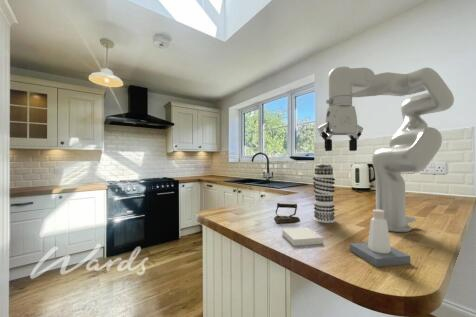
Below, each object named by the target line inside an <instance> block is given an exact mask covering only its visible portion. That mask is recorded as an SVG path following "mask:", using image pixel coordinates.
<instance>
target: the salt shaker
mask: <svg viewBox="0 0 476 317" xmlns="http://www.w3.org/2000/svg"><path fill="white" fill-rule="evenodd" d="M384 213H385V211H383V210H379V209H376V208H375V209H372V218H370V221H369V222H370V223H369V224H370V225H369V233H368V241H367V242H368V248H369V249H370V250H371V251H374V252H377V253H387V254H388V253H389V252H390V251H391V248H390V247H391V243H390V242H391V240H390V234H389V231H388V226H387V220H385V219H384Z"/></svg>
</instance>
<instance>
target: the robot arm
mask: <svg viewBox="0 0 476 317" xmlns="http://www.w3.org/2000/svg"><path fill="white" fill-rule="evenodd" d="M425 91H426V93H422V92H425ZM418 93H422V94H418ZM414 94H417V95H414ZM411 95H413V96H411ZM377 96H392V97H405V96H406V97H407V96H411V97H409V98H407V99H405V100H404V101H403V102H402V104H401V108H400V111H401V115H402V121H403V122H402V124H401V126H400V127H399V128H398V129H397V131H396V132H395V133H394V135H393V136H392V137H391V139H390V140H389V147H383V148H379V149H377V150H376V151H375V152H374V153H373V155H372V167H373V170H374V175H375V176H374V177H375V209H379V210H383V211H385V213H384V219H385V220H387V226H388V232H395V233H396V232H397V233H407V232H411V230H412V228H411V227H412V226H410V225H409V223H415V222H416V220H417V219H416V217H414V216H407V215H406V181H405V180H404V177H403V176H402V174H401V173H413V174H414V173H420V172H422V171H424V170H425V169H426V168H427V167H428V165H429V164H430V163H431V161H432V160H433V159H434V157H435V156H436V154H437V153H438V152H439V150H440V148H441V146H442V142H443V141H442V140H443V137H442V134H441V132H440V131H439V130H438V129H436V128H435V127H432V126H429V125H428V123H427V122H426V121H425V119H423V118H421V116H423V115H428V114H436V113H440V112H444V111H447V110H449V109H450V108H452V106H454V102H455V97H454V94H453V92H452V91H451V89H450V88H449V86H448V85H447V83H446V82H445V81H444V79H443V78H442V77H441V75H440V74H439V73H438V72H437V71H436V70H434V68H430V67H423V68H420V69H417V70H415V71H412V72H409V73H397V72H389V71H388V72H381V73H377V74H375V72H374V71H373V69H370V68H368V67H353V68H352V67H349V66H338V67H335V68H332V69H331V71H329V73H328V99H326V100H325V103H326V104H328V107H327V110H326V115H325V123H324V124H321V125H320V126H318V127H317V131H318V133H319V136H320V137H321V138H322V140H323V141H324V151H325V152H331V151H333V140H332V139H331V138H332V137H333V136H348V138H349V139H350V140H348V147H349V148H348V150H349V151H350V152H355V151H357V150H358V140H359V139H360V137H361V136H362V133H363V131H364V127H362V126H361V125H359V124H358V118H357V117H358V116H357V112H356V107H355V105H353V98H365V97H377ZM324 129H325V131H324Z"/></svg>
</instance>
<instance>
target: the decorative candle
mask: <svg viewBox="0 0 476 317" xmlns="http://www.w3.org/2000/svg"><path fill="white" fill-rule="evenodd" d="M333 169H334V167H333V166H332V165H331V164H330V163H318V164H316V165H315V167H314V174H313V175H314V176H313V177H312V180H313V183H312V184H313V188H314V189H313V194H314V204H313V206H314V208H313V209H314V211H313V213H314V215H313V217H314V218H313V219H314V221H316V222H318V223H324V224H329V223H330V224H331V223H335V220H336V219H335V217H336V216H335V215H336V214H335V204H334V202H335V201H334V195H335V190H334V189H335V186H334V185H335V180H336V179H335V178H334V170H333Z"/></svg>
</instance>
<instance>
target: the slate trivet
mask: <svg viewBox="0 0 476 317" xmlns="http://www.w3.org/2000/svg"><path fill="white" fill-rule="evenodd" d="M390 248H391V251H390V252H389V253H388V254H387V253H377V252H374V251H371V250H370V249H369V248H368V241H365V242H364V241H363V242H353V243H352V242H351V243H349V251H350V252H352V253H354V254H355V255H357V256H358V257H360V258H361V259H363V260H364V261H366V262H367V263H369V264H371V265H373V266H374V267H376V268H379V267H389V266H398V265H399V266H401V265H408V264H411V255H410V254H407V253H405V252H402V251H401V250H399V249H397V248H394V247H393V246H390Z"/></svg>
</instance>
